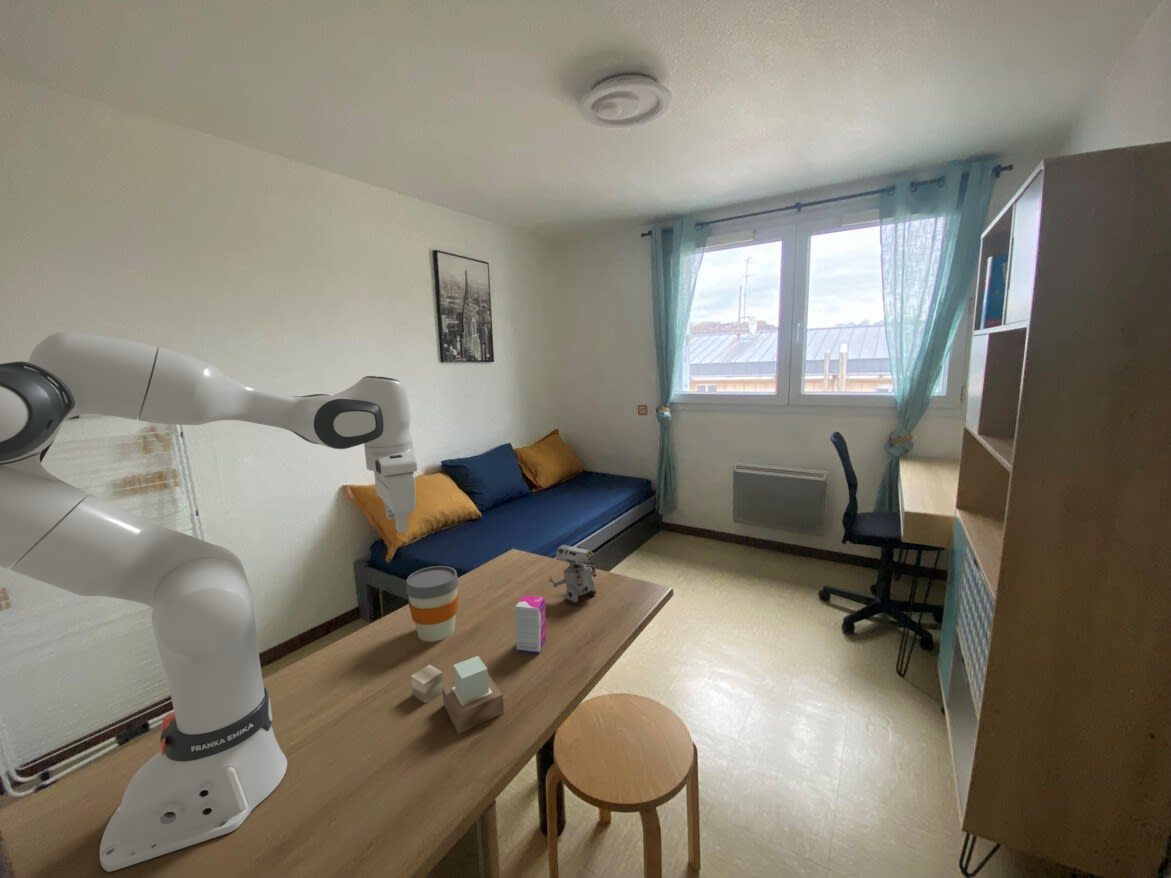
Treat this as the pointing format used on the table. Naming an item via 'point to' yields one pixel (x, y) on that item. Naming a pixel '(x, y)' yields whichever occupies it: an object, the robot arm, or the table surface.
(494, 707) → the walnut base
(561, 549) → the figurine
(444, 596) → the reusable coffee cup
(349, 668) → the table surface
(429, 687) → the block
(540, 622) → the supplement box
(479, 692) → the sage block
